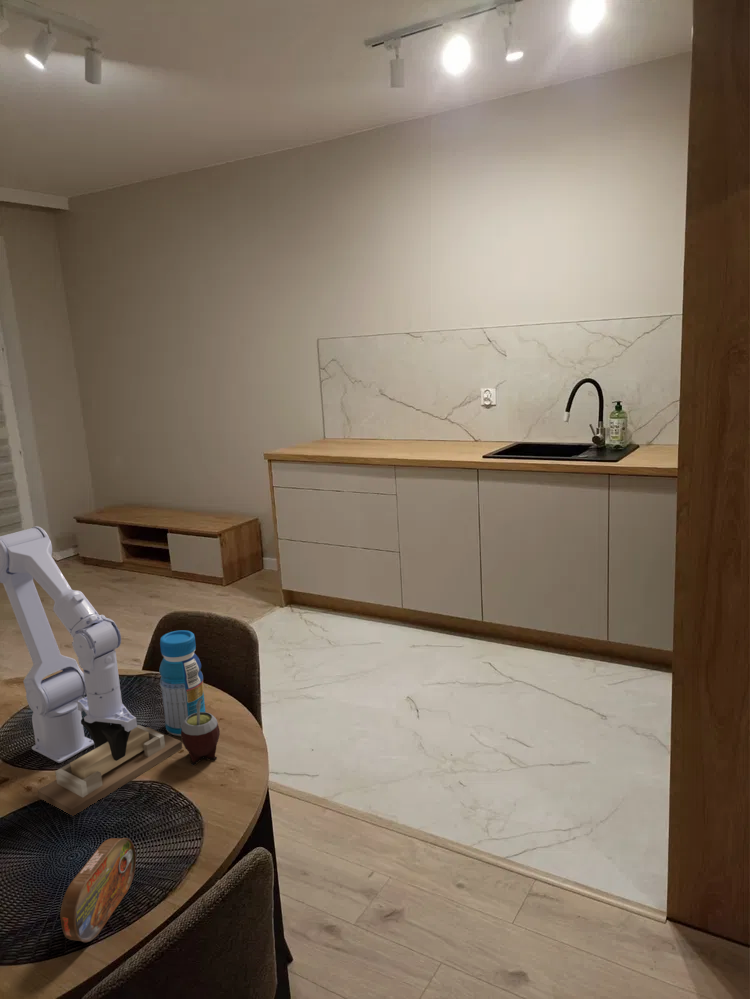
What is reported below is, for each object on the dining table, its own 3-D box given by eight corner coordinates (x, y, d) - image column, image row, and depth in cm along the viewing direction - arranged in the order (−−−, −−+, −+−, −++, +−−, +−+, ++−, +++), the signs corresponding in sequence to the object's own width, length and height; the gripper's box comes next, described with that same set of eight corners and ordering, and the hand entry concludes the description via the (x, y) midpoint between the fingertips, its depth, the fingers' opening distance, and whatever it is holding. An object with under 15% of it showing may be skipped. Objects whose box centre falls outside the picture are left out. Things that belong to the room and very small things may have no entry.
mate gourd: (199, 743, 144) (192, 673, 140) (232, 751, 140) (226, 680, 137) (174, 763, 137) (166, 691, 134) (208, 773, 134) (200, 699, 130)
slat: (72, 777, 130) (70, 762, 129) (136, 740, 141) (134, 726, 141) (86, 784, 128) (83, 769, 127) (150, 746, 139) (148, 732, 138)
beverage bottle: (164, 740, 145) (154, 648, 140) (166, 719, 153) (156, 630, 148) (207, 734, 147) (199, 642, 142) (207, 713, 155) (198, 625, 150)
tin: (82, 957, 95) (74, 903, 93) (60, 954, 96) (52, 900, 94) (140, 874, 110) (134, 825, 108) (121, 871, 110) (114, 823, 108)
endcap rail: (38, 797, 128) (35, 777, 127) (148, 733, 148) (146, 715, 147) (72, 817, 123) (69, 796, 122) (182, 748, 142) (180, 729, 141)
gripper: (59, 686, 132) (68, 752, 135) (109, 707, 124) (118, 777, 127) (92, 670, 138) (101, 734, 141) (143, 689, 130) (151, 757, 133)
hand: (111, 754), depth 134 cm, fingers closed on slat, 4 cm apart
